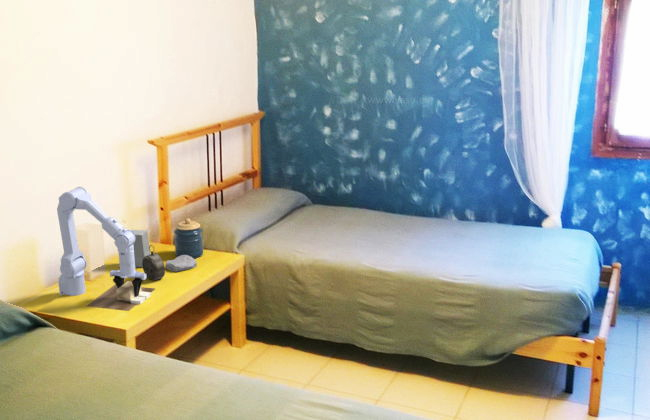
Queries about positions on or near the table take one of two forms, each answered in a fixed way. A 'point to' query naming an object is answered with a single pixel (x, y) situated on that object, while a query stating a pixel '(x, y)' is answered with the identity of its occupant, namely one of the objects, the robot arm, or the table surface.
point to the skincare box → (140, 246)
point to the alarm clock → (153, 266)
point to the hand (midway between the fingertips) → (129, 294)
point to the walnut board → (114, 300)
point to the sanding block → (126, 292)
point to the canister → (188, 239)
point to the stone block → (181, 263)
